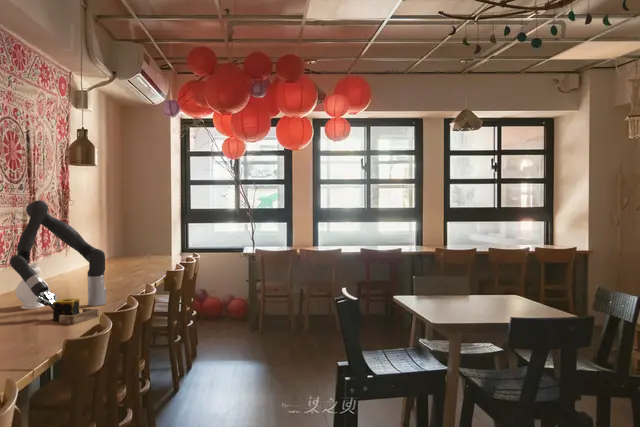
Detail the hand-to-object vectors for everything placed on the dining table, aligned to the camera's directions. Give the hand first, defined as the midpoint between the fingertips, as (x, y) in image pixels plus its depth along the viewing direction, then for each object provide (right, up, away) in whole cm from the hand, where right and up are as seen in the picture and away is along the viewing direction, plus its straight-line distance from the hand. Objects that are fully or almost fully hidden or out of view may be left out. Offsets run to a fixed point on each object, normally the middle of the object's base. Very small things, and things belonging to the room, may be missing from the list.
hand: (56, 309), depth 298 cm
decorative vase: (-30, -4, +34) cm, 46 cm away
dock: (+14, -5, -4) cm, 15 cm away
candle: (+6, -5, -1) cm, 8 cm away
